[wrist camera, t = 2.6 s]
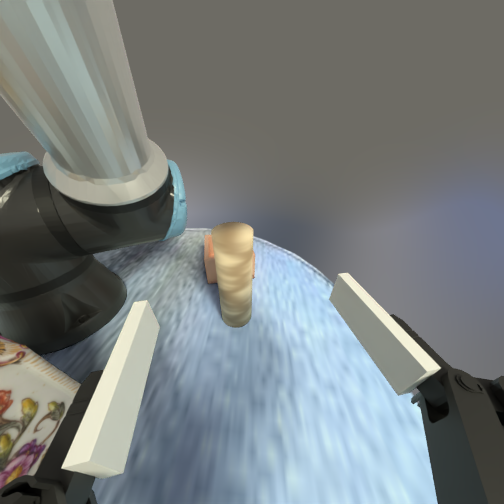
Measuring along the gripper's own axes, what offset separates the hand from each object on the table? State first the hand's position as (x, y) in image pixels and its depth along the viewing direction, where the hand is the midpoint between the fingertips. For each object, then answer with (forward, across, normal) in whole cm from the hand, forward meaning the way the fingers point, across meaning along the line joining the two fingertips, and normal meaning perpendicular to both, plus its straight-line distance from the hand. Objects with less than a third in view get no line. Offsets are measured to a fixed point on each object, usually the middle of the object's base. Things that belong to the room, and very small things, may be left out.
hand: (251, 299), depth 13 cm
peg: (+11, 0, -16) cm, 20 cm away
